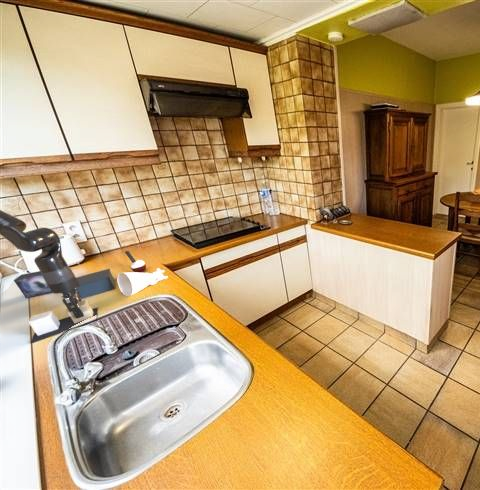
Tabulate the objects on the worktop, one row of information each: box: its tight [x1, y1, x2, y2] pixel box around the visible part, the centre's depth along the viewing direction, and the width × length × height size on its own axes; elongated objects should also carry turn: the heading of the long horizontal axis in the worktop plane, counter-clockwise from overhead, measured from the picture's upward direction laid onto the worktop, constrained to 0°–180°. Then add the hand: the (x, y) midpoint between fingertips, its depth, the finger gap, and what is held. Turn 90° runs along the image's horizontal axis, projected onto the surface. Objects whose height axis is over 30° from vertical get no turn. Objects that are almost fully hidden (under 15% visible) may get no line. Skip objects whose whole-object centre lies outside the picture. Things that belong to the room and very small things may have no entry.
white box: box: [28, 309, 60, 336], centre depth 103 cm, size 6×5×6 cm
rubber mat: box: [30, 307, 99, 344], centre depth 107 cm, size 18×12×1 cm, turn 132°
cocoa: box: [124, 250, 147, 273], centre depth 146 cm, size 10×6×12 cm, turn 44°
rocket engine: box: [116, 268, 169, 297], centre depth 132 cm, size 12×12×18 cm
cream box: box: [65, 299, 93, 323], centre depth 109 cm, size 6×5×6 cm
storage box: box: [75, 268, 116, 300], centre depth 130 cm, size 14×12×7 cm
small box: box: [13, 270, 53, 299], centre depth 130 cm, size 11×6×10 cm, turn 118°
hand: (81, 313), depth 109 cm, fingers open, 7 cm apart
